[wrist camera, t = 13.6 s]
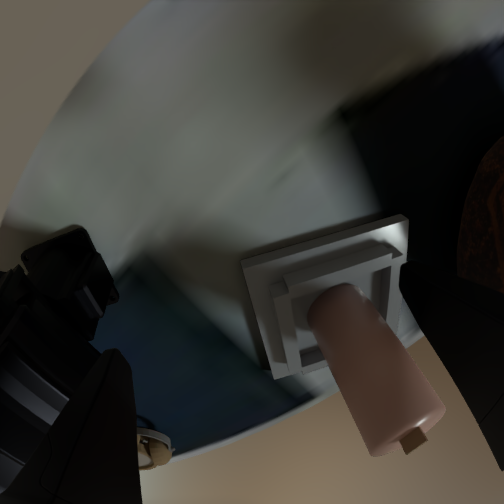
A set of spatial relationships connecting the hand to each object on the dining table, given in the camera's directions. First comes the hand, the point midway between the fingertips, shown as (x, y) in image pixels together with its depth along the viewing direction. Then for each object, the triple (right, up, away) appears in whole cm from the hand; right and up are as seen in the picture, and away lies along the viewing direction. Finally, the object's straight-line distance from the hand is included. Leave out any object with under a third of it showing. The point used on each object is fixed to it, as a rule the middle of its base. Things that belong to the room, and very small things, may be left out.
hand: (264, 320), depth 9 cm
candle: (+7, -3, +17) cm, 19 cm away
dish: (+7, -3, +18) cm, 20 cm away
